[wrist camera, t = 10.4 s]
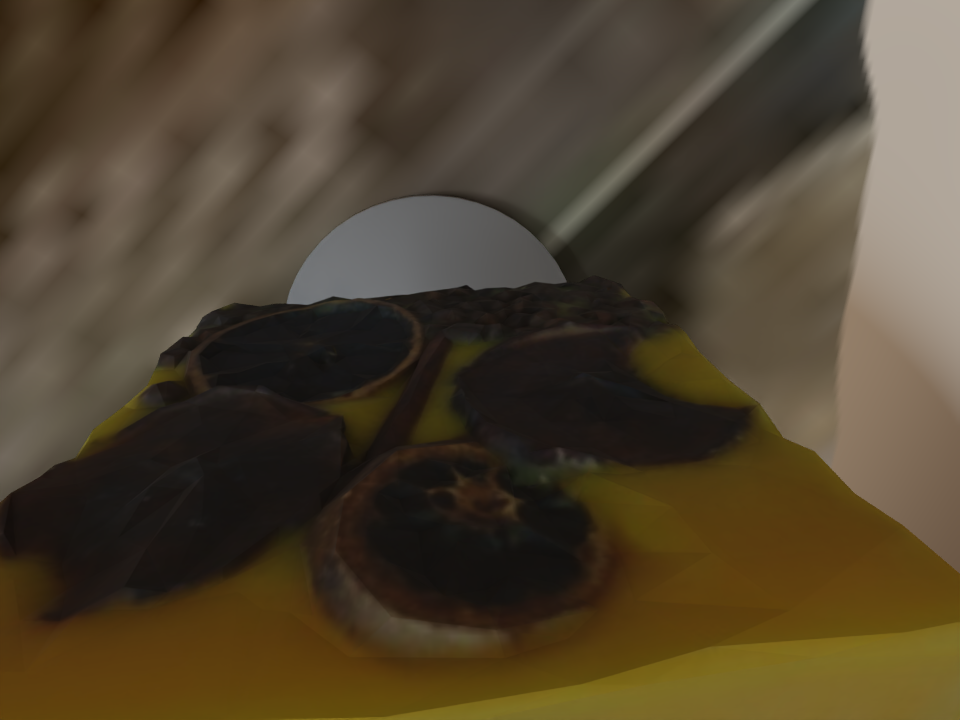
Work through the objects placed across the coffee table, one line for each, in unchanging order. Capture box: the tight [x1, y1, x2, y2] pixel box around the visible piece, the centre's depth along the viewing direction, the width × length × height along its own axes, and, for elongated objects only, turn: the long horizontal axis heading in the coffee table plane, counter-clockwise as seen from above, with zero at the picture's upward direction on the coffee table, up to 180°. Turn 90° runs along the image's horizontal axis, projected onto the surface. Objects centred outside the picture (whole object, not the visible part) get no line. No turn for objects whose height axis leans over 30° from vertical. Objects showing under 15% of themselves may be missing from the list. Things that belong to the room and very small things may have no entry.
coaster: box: [287, 194, 566, 305], centre depth 22 cm, size 12×12×1 cm
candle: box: [0, 276, 960, 720], centre depth 10 cm, size 10×10×10 cm
